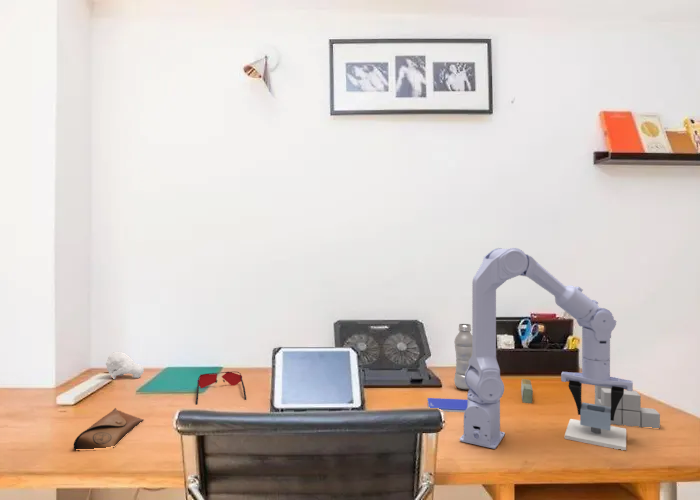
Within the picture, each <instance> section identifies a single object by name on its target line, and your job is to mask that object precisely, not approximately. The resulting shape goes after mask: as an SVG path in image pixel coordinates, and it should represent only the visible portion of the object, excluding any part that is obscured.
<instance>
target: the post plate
mask: <svg viewBox="0 0 700 500" xmlns="http://www.w3.org/2000/svg"><path fill="white" fill-rule="evenodd" d="M564 439H565V440H569V441H574V442H579V443H584V444H589V445H594V446H599V447H605V448H609V449H613V448H614V450H618V449H621V450H620V451H623V450H626V451H627V428H624V427H619V426H614V425H611V427H610V430H604V429H599V428H594V427H589V426H584V425H580V419H575V418H570V419H569V421H568V424H567V426H566V430H565V433H564Z"/></svg>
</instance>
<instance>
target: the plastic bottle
mask: <svg viewBox="0 0 700 500" xmlns="http://www.w3.org/2000/svg"><path fill="white" fill-rule="evenodd" d="M458 331H459V333H457V334H456V336H455V337H454V349H455V362H456V363H455V374H454V379H453V381H454V385H455V386H456V388H457V389H461V390H469V387H468V386H467V385H466V383H465V373H466V371H467V369H468V365H469V359H470V358H471V356H472V333H471V331H472V326H471V324H469V323H459V325H458Z"/></svg>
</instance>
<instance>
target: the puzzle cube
mask: <svg viewBox="0 0 700 500" xmlns="http://www.w3.org/2000/svg"><path fill="white" fill-rule="evenodd" d="M641 400H642V399H641V394H639V392H637V390H633V391H627V390H625V389H624V394H623V396H622V398H621V400H620V402H619V404H618V406H617V408H616V411H615V415H614V421H612V420H611V425H615V424H616V425H615V426H624V425H626V426H625V427H633V426H639V427H638V428H642V427H652V428H660V429H661V413H660V412H659V411H657V410H656V408H651V407H650V408H649V407H642V406H641V402H642V401H641ZM594 404H595V405H601V406H607V407H611V387H604V386H597V385H594Z"/></svg>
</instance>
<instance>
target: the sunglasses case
mask: <svg viewBox="0 0 700 500" xmlns="http://www.w3.org/2000/svg"><path fill="white" fill-rule="evenodd" d="M143 420H144V419H142V418H140V417H137V416H135V415H131V414H128V413H126V412H124V411H121V410H119V409H117V408H116V407H115V408H114V409H113V410H111V411H110V412H109V413H107V414H106V415H104V416H103V417H102V418H100V419H99V420H96V422H95V423H94V424H92V425H91V426H89V427H88V428H87V429H85V430H84V431H81V433H80V434H78V436H77V437H76V438H75V440H74V442H73V449H74V450H75V449H94V448H106V447H111V446H115V445H116V444H117V443H118V442H119V441H120V440H121V439H122V438H123V437H124V436H125V435H126V434H127V433H128V434H129V433H131V432H132V431H133V430H134V429H135V428H136V427H137V426H138V425H140V424H141V423H143V422H144V421H143ZM142 421H143V422H142ZM140 422H141V423H140ZM139 423H140V424H139ZM135 426H136V427H135ZM134 427H135V428H134ZM133 428H134V429H133ZM128 434H127V435H128ZM127 435H126V436H127ZM126 436H125V437H126ZM125 437H124V438H125ZM122 440H123V439H122ZM122 440H121V441H122ZM121 441H120V442H121ZM120 442H119V443H120ZM119 443H118V444H119ZM118 444H117V445H118ZM117 445H116V446H117ZM116 446H115V447H116Z"/></svg>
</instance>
